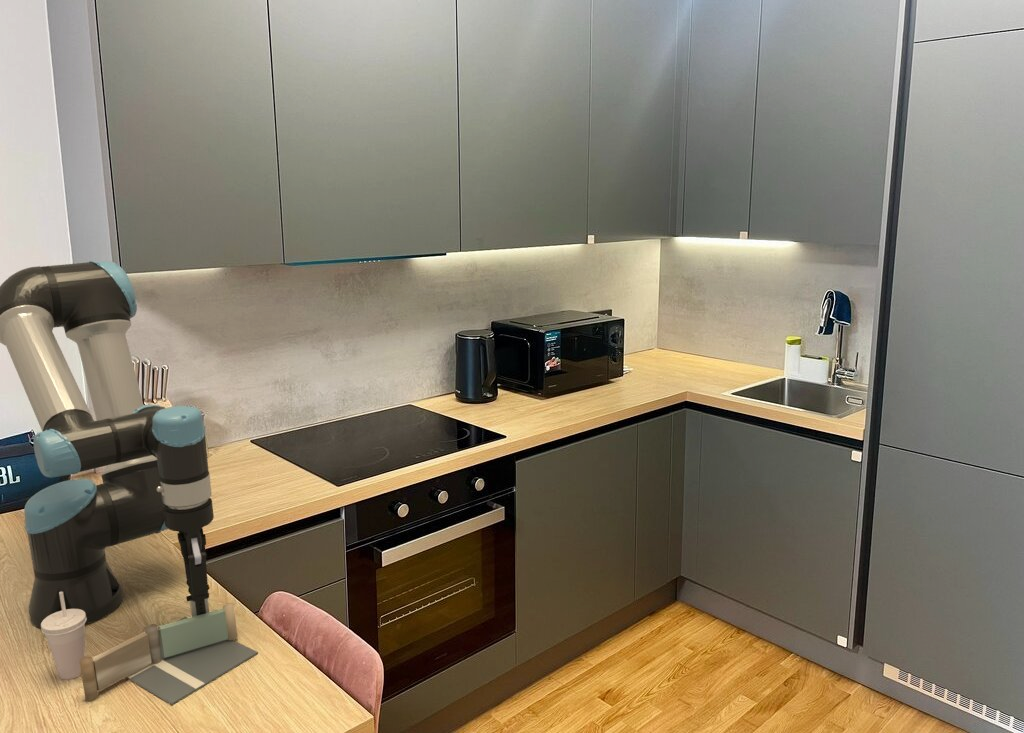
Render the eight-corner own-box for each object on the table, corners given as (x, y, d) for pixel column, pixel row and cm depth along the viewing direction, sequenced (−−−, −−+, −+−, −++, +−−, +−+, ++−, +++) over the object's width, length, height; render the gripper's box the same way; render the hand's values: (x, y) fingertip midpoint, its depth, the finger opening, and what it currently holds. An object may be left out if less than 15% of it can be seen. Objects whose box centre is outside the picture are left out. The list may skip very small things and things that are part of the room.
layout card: (99, 662, 135) (99, 660, 134) (185, 618, 147) (185, 616, 147) (171, 705, 124) (171, 703, 123) (258, 653, 136) (257, 651, 136)
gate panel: (164, 660, 134) (160, 627, 132) (162, 655, 135) (158, 622, 134) (238, 638, 140) (235, 606, 138) (235, 633, 141) (232, 601, 140)
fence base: (82, 698, 125) (76, 660, 124) (157, 657, 135) (152, 622, 134) (89, 703, 124) (83, 664, 123) (164, 661, 134) (160, 626, 133)
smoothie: (101, 660, 135) (89, 583, 132) (83, 684, 129) (70, 604, 126) (61, 661, 135) (48, 584, 132) (41, 685, 129) (27, 605, 125)
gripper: (158, 492, 138) (174, 618, 143) (167, 520, 127) (184, 655, 132) (205, 483, 141) (218, 607, 147) (218, 510, 130) (232, 642, 136)
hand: (202, 629), depth 140 cm, fingers closed
